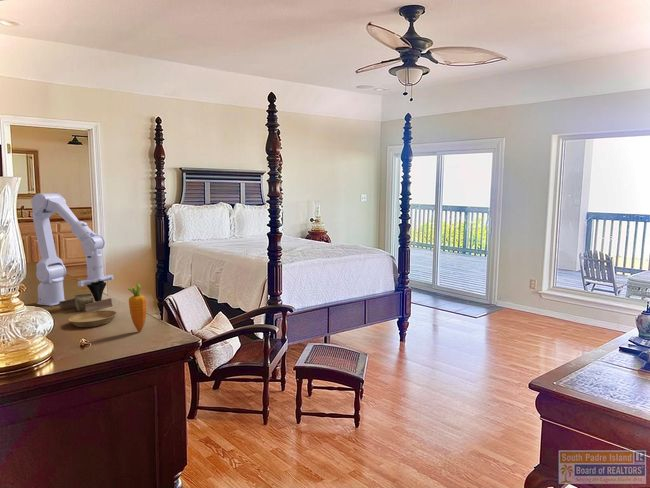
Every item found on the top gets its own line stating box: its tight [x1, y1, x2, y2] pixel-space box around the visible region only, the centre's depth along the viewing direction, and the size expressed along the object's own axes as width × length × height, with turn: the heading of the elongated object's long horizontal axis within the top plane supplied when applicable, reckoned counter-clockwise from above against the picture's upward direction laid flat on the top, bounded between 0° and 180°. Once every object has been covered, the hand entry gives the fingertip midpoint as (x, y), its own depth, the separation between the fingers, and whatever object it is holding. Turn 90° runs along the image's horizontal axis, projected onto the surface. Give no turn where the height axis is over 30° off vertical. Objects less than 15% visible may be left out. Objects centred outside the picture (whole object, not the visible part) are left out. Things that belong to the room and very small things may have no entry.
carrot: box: [127, 282, 147, 333], centre depth 146 cm, size 5×5×15 cm
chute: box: [58, 297, 113, 313], centre depth 182 cm, size 15×11×3 cm
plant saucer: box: [68, 309, 118, 328], centre depth 160 cm, size 15×15×3 cm
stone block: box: [74, 293, 95, 312], centre depth 181 cm, size 6×12×5 cm, turn 33°
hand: (98, 301), depth 186 cm, fingers closed
